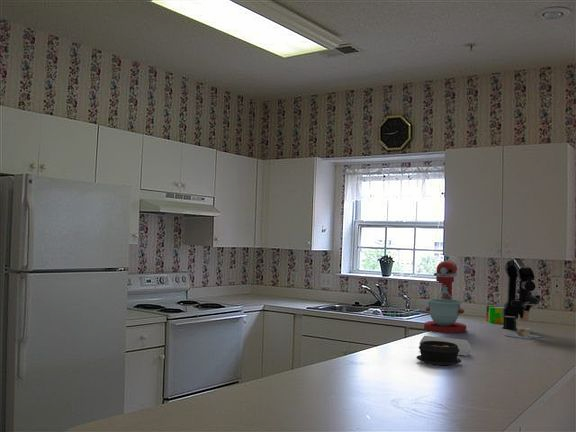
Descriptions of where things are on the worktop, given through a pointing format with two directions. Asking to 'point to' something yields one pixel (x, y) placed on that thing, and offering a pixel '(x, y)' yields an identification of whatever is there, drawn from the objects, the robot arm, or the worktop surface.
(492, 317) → the puzzle toy
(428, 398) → the worktop surface
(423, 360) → the casserole
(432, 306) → the stand mixer
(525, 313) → the brown rounded lump
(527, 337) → the board
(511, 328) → the robot arm
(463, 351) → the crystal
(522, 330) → the oak block
